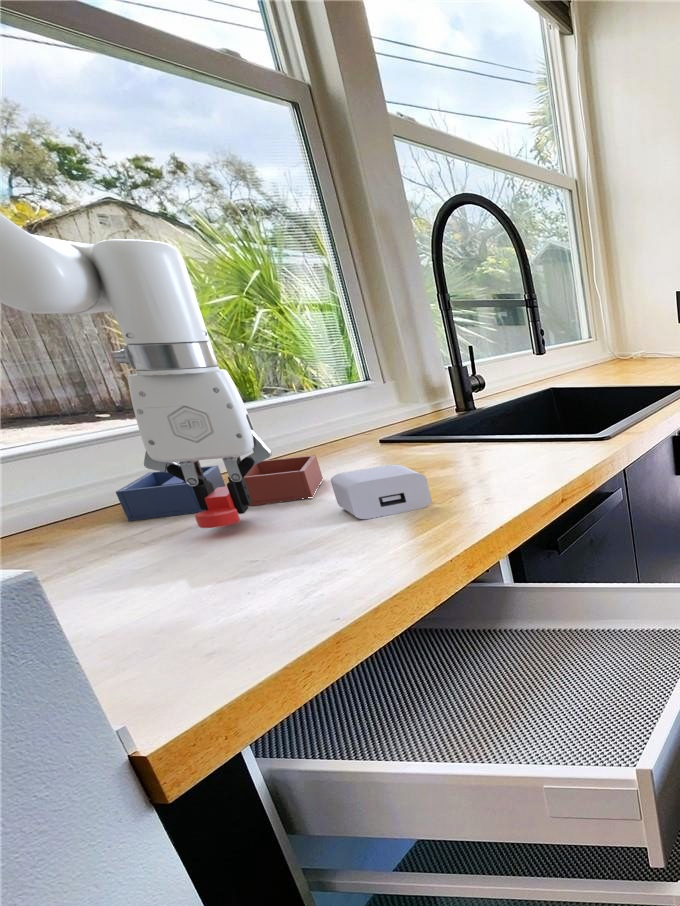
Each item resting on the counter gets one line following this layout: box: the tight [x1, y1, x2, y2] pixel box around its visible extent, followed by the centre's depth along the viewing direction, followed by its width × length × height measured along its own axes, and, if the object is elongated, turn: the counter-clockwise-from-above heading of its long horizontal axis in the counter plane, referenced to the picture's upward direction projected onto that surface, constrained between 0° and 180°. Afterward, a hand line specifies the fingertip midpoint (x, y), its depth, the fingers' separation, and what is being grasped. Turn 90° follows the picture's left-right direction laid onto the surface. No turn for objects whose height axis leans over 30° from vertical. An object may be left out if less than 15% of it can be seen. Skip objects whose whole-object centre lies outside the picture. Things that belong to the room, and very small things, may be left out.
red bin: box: [244, 454, 324, 507], centre depth 102 cm, size 8×13×4 cm, turn 27°
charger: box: [330, 464, 433, 520], centre depth 94 cm, size 5×9×15 cm
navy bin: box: [115, 464, 227, 522], centre depth 97 cm, size 8×13×4 cm, turn 27°
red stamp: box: [194, 486, 241, 529], centre depth 85 cm, size 10×4×3 cm, turn 27°
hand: (229, 511), depth 87 cm, fingers closed on red stamp, 2 cm apart
